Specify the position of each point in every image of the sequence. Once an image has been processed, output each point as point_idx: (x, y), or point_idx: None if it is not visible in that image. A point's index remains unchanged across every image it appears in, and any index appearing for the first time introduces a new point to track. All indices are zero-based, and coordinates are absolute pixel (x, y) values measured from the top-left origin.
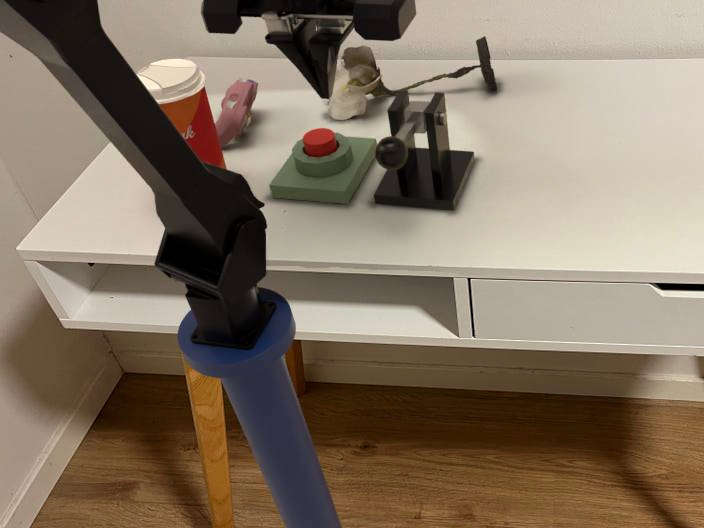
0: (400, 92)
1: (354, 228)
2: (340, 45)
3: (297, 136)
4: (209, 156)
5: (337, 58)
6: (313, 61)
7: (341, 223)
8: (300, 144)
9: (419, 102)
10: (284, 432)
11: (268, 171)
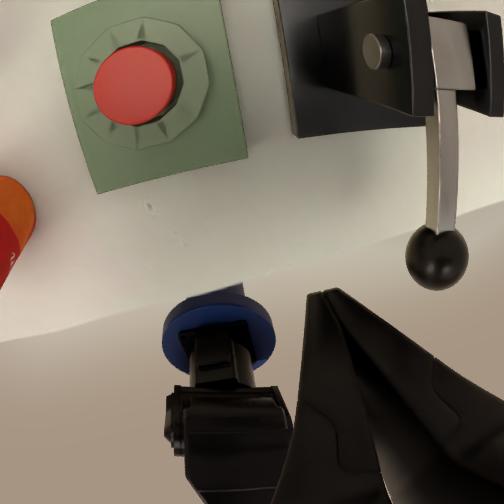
0: (412, 7)
1: (287, 202)
2: (493, 399)
3: (27, 12)
4: (6, 259)
5: (442, 366)
6: (388, 485)
7: (261, 199)
8: (87, 96)
9: (448, 29)
10: None
11: (45, 124)
